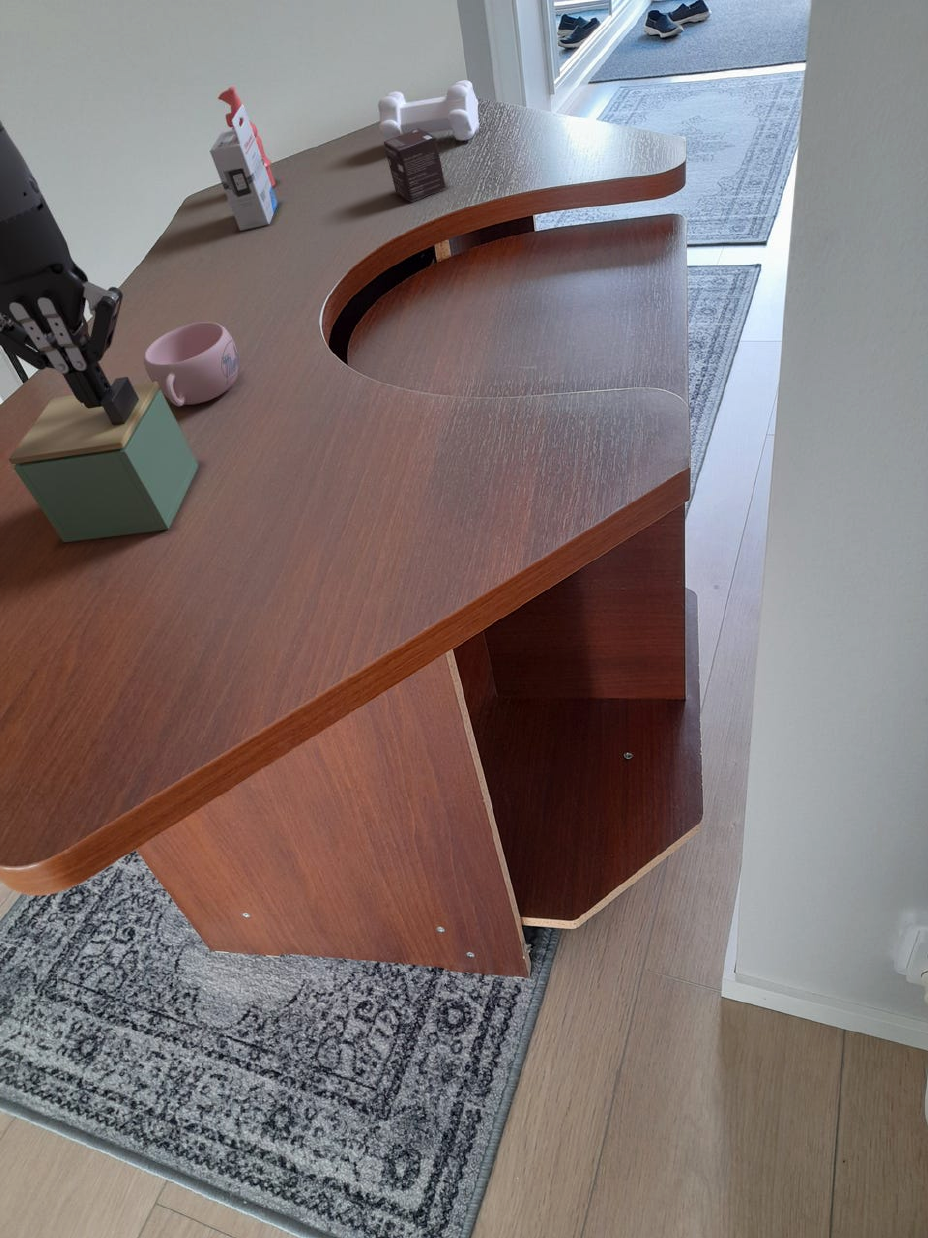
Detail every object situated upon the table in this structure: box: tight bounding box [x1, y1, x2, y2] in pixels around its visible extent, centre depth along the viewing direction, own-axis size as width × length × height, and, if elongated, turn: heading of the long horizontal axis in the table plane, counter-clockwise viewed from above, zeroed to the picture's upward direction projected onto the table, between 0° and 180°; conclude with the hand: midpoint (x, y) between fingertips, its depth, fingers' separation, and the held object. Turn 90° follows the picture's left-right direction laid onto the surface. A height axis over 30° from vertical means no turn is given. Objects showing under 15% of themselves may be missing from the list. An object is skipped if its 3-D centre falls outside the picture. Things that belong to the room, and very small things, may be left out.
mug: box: [143, 321, 239, 407], centre depth 99 cm, size 12×10×6 cm
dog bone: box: [377, 79, 480, 141], centre depth 145 cm, size 15×9×8 cm, turn 76°
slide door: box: [7, 376, 159, 465], centre depth 81 cm, size 10×11×3 cm
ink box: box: [209, 103, 278, 231], centre depth 134 cm, size 9×5×15 cm, turn 179°
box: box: [383, 129, 447, 203], centre depth 130 cm, size 6×6×7 cm
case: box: [13, 390, 199, 543], centre depth 85 cm, size 10×11×9 cm
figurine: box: [217, 86, 276, 188], centre depth 145 cm, size 5×5×15 cm
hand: (99, 402), depth 80 cm, fingers closed
